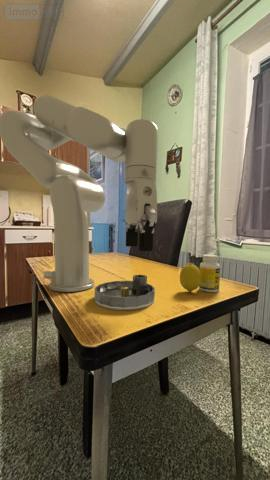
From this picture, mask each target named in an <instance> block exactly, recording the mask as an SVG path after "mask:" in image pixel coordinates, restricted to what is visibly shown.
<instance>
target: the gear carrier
mask: <svg viewBox="0 0 270 480" xmlns="http://www.w3.org/2000/svg"><path fill="white" fill-rule="evenodd" d="M131 288H133V280H115V281H105V282H103V283H100V284H98V285H97V286H95V287H94V302H95V305H97V306H98V307H100V308H102V309H105V310H109V311H110V310H111V311H119V312H122V311H123V312H126V311H127V312H128V311H137V310H143V309H146V308H149V307H150V306H152V305H153V304H154V303H155V296H156V287H154V286H153V285H152V284H150V283H147V288H148V294H145V295H140V296H137V295H134V294H132V293H131Z"/></svg>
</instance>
